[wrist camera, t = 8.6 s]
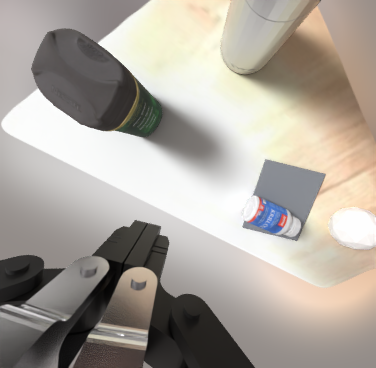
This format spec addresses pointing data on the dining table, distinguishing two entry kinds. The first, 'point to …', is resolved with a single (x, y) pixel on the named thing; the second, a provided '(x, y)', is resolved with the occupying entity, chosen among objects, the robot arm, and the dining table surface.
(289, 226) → the pill bottle
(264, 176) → the mat
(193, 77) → the dining table surface
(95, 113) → the coffee jar
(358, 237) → the geometric ball
